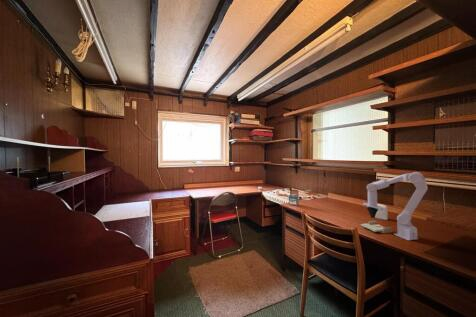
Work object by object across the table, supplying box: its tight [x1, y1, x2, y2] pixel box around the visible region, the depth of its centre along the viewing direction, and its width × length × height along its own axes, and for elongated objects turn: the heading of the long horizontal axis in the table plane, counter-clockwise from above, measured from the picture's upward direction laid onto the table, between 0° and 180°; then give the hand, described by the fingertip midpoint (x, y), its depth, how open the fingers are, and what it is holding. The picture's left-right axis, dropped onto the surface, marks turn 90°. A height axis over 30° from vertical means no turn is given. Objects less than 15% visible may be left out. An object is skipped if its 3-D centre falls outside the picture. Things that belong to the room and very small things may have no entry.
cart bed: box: [367, 220, 393, 234], centre depth 135 cm, size 13×8×4 cm, turn 10°
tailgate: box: [360, 222, 382, 233], centre depth 134 cm, size 12×1×5 cm
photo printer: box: [374, 203, 389, 221], centre depth 156 cm, size 10×4×12 cm, turn 39°
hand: (372, 217), depth 135 cm, fingers closed
